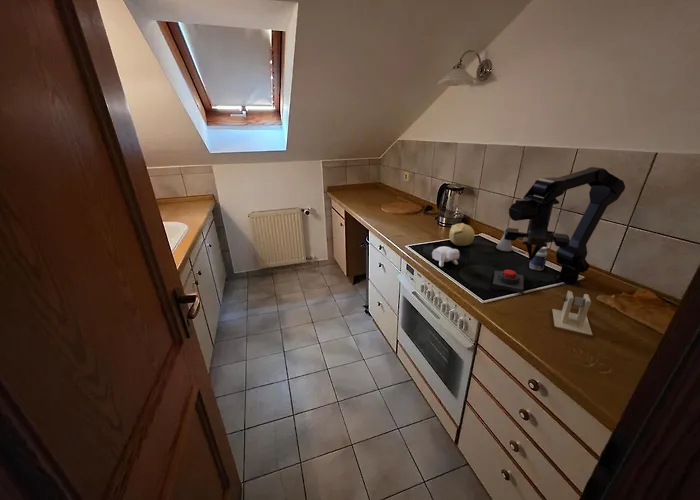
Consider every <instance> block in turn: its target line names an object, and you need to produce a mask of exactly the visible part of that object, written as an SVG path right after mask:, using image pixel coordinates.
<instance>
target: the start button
mask: <svg viewBox="0 0 700 500" xmlns="http://www.w3.org/2000/svg"><path fill="white" fill-rule="evenodd" d="M503 271H504V274H503V276H505V277H507V278H515V276H516V273H517V272H516V271H515V270H513V269H504V270H503Z"/></svg>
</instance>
